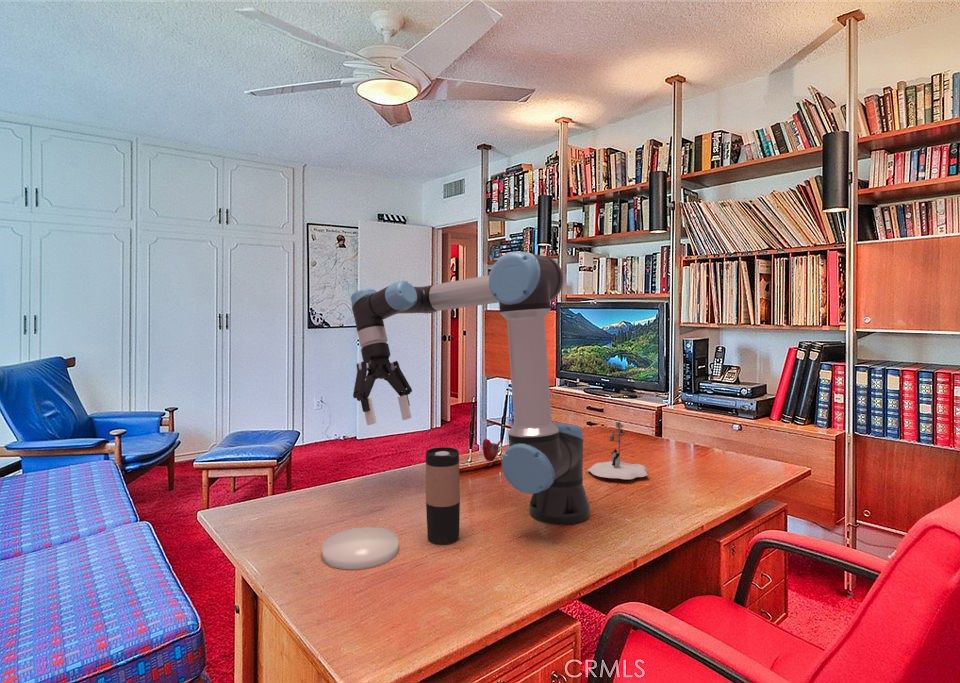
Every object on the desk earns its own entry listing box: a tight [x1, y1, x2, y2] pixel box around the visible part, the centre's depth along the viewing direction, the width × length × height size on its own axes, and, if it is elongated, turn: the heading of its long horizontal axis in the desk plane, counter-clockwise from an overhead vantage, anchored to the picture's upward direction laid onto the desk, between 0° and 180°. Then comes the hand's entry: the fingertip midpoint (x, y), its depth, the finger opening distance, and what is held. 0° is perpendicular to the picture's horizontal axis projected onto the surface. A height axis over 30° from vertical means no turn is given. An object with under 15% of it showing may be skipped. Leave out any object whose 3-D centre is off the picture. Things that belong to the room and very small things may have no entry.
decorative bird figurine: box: [482, 438, 502, 467], centre depth 177 cm, size 3×18×10 cm, turn 158°
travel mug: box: [425, 446, 461, 546], centre depth 120 cm, size 8×8×20 cm
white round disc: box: [321, 526, 400, 571], centre depth 114 cm, size 16×16×2 cm
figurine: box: [587, 421, 649, 480], centre depth 166 cm, size 20×18×16 cm
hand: (390, 421), depth 141 cm, fingers open, 13 cm apart
